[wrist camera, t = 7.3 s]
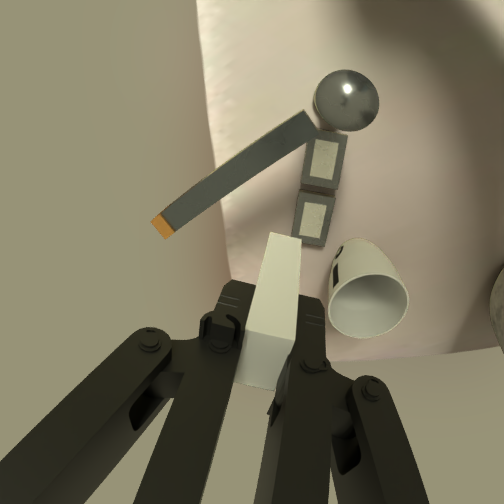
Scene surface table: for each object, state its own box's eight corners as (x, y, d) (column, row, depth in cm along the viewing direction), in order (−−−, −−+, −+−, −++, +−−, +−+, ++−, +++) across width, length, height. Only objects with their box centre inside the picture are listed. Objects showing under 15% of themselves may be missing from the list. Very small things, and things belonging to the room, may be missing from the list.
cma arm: (349, 63, 19) (355, 59, 16) (381, 110, 20) (390, 112, 18) (155, 199, 27) (141, 210, 25) (185, 235, 28) (174, 250, 26)
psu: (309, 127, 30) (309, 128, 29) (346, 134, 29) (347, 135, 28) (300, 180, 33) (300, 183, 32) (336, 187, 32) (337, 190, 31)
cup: (324, 226, 35) (329, 273, 26) (391, 225, 33) (415, 271, 25) (324, 284, 39) (326, 339, 30) (384, 283, 37) (400, 336, 29)
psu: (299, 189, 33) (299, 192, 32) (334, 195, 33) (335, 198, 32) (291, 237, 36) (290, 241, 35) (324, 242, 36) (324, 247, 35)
